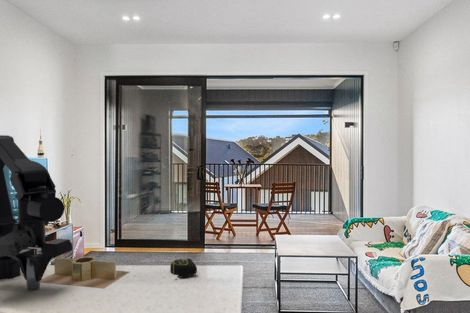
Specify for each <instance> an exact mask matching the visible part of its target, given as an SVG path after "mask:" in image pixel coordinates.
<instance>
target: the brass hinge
mask: <svg viewBox="0 0 470 313" xmlns="http://www.w3.org/2000/svg"><path fill="white" fill-rule="evenodd" d="M53 258H54V261H53V263H54V264H53V266H54V273H55V275H67V276H72V280H74V281H85V280H90V279H93V278H101V279H112V280H115V279H116V271H117V265H116V264H117V263H116V261H109V260H98V258H97V256H91V255H90V256H81V257H77V258H69V257H67V258H66V257H53Z"/></svg>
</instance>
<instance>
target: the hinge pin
mask: <svg viewBox="0 0 470 313" xmlns="http://www.w3.org/2000/svg"><path fill="white" fill-rule="evenodd" d="M31 256H33V255H31ZM31 256H27V257H26V273H27V281H26V291H27V292H35V291H38V290H40V289H41V282H40V281H39V282H37V281H36V277H35V262H34V261H33V260H32V259H31V258H30V257H31Z"/></svg>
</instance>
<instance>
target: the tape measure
mask: <svg viewBox="0 0 470 313" xmlns="http://www.w3.org/2000/svg"><path fill="white" fill-rule="evenodd" d="M169 269H170V270H169V271H170V273H171V275H175V276H177V277H180V278H186V277H189V276H194V275H195V274H197V272H198V268H197V265H196V264H195V263H194V261H193V260H192V259H191V258H186V259H185V258H184V259H183V258H179V259H175V260H173V261H172V262H171V263H170V268H169Z"/></svg>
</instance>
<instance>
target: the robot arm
mask: <svg viewBox="0 0 470 313" xmlns="http://www.w3.org/2000/svg"><path fill="white" fill-rule="evenodd" d="M14 140H15V139H14V137H13V136H11V135H8V134H7V135H3V134H1V135H0V281H1V280H10V279H12V280H13V279H15V278H17V277H20V276H21V274H22V275H23V277H24V280H25V281H26V282H27V273H26V257H27V256H31V255H33V256H31V257H30V258H31V259H32V260H33V261H34V262H35V277H36V281H37V282H39V281H41V279H43V278H44V277H43V276H44V274H45V272H46V270H47V267H48V266H49V263H50V262H51V260H52V258H57V257H59V256H62V255H64V254H67V253H69V252H71V251H73V242H72V241H71V240H70V239H68V238H66V239H65V238H56V239H53V240H50V235H46V225H49V224H50V223H54V222H57V221H58V220H60V219H61V218H62V216H63V214H64V213H65V205H64V202H63V200H62V199H60V198H58V197H56V193H57V189H56V187H57V186H56V184H55V183H54V181H53V179H52V177H51V175H50V172H49V171H48V170H47V168H46V167H45V166H44V165H43V164H41V163H40V162H38V161H34V160H31V159H29V158H28V157H27V155H26V154H25V153H24V152H23V151H22V150H21V148H20V147H19V146H18V145H17V144H16V143H15V141H14ZM5 166H6V167H7V168H8V170H9V171H10V176H9V180H10V181H9V182H10V183H11V186H12V187H13V189H14V190H15V193H16V194H15V195H14V198H15V199H16V200H17V219H16V218H15V217H14V214H13V211H12V205H11V200H10V196H9V195H10V194H9V191H8V185H7V181H6V176H5V171H4V168H5ZM49 240H50V241H49ZM35 252H36V253H35Z"/></svg>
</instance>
